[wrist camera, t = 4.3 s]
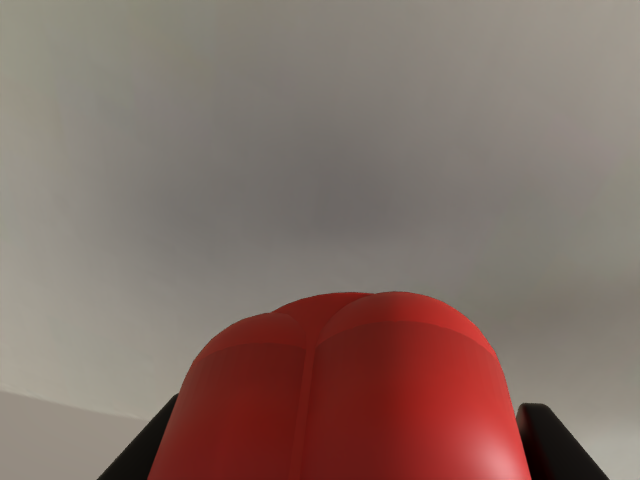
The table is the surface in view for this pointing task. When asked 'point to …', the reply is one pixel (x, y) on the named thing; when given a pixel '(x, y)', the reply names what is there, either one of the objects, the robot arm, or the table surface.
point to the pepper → (345, 397)
